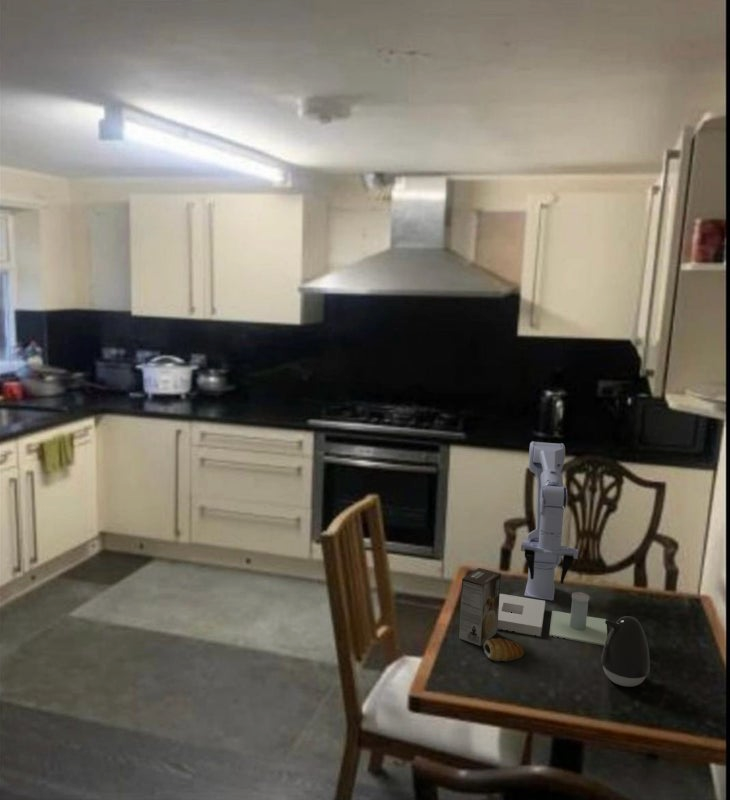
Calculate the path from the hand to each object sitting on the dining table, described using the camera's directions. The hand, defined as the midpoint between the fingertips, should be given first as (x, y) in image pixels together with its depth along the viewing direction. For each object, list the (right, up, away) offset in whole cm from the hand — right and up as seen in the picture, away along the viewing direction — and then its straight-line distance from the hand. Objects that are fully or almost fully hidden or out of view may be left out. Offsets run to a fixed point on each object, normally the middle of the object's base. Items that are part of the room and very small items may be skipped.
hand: (546, 580), depth 188 cm
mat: (+7, -12, -4) cm, 14 cm away
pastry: (-16, -14, -18) cm, 28 cm away
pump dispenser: (+10, -16, -28) cm, 33 cm away
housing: (-9, -10, +1) cm, 14 cm away
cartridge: (+7, -11, -4) cm, 14 cm away
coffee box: (-20, -12, -10) cm, 25 cm away
